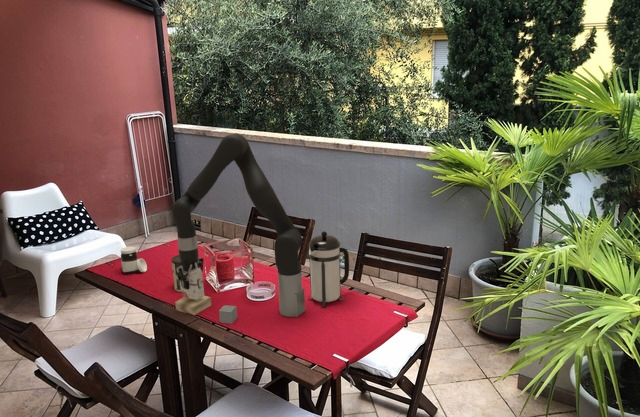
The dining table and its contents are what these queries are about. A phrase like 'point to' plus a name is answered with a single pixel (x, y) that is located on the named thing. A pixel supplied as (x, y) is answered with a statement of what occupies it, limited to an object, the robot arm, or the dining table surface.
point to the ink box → (193, 285)
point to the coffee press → (326, 268)
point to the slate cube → (228, 314)
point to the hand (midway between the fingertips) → (192, 286)
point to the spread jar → (132, 261)
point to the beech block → (193, 305)
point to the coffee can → (175, 263)
